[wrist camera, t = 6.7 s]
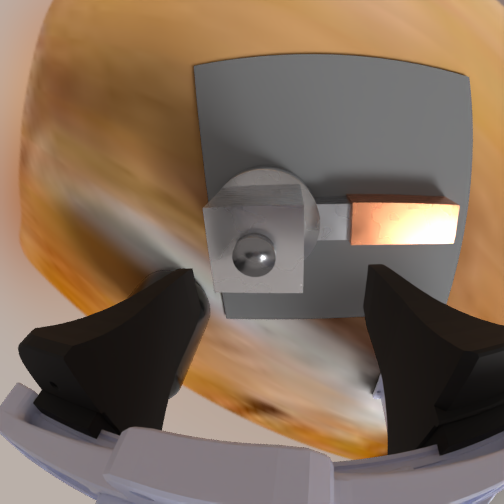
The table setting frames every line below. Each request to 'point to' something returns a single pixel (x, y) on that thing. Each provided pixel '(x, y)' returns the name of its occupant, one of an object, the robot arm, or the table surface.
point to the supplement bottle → (196, 335)
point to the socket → (256, 238)
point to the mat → (341, 159)
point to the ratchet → (363, 213)
